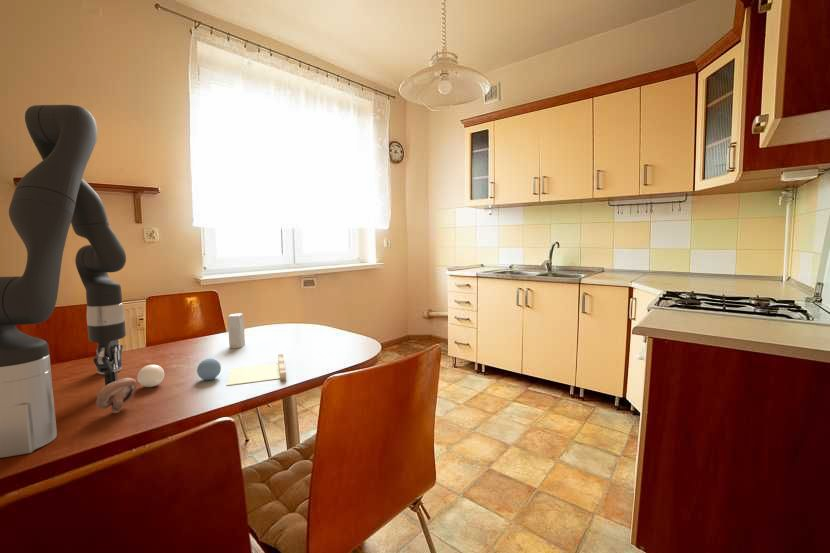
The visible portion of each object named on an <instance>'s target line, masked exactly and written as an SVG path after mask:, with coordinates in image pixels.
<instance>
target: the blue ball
mask: <svg viewBox="0 0 830 553" xmlns="http://www.w3.org/2000/svg"><path fill="white" fill-rule="evenodd" d="M221 371H222V366H221V363H220V361H218V360H216V359H215V358H206V359H204V360H202V361H201V362H200V363H199V364H198V366H197V368H196V372H197V375H198V376H199V378H200V379H202V380H204V381H210V380H214V379H215V378H217V377H218V376H219V374H220V373H221Z"/></svg>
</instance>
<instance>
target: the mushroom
mask: <svg viewBox="0 0 830 553" xmlns="http://www.w3.org/2000/svg"><path fill="white" fill-rule="evenodd" d="M137 384H138V383H137V381H136V379H134V378H132V377H124V378H120V379H117V381H114V382H112V383H110V384H108V385H106V386H103V388H101V389H100V391H98V394H97V398H96V400H95V405H96V406H97V407H98V408H100V409H107V408H109V407H111V408H110V410H111V412H112V413H114V414H117V413H119V412H120V411H121V409H122V408H123V406H124V404H126V403H127V402H129V401H131V399H132V398H133V397H134V396H135V393H136V389H137V386H138V385H137Z"/></svg>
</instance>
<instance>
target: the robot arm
mask: <svg viewBox="0 0 830 553" xmlns="http://www.w3.org/2000/svg"><path fill="white" fill-rule="evenodd" d="M24 122H25V126H26V129H27V131H28V134H29V135H30V138H31V140H32V142H33V144H34V145H35V148H36V150H37V152H38V154H39V155H40V157H41V161H40V162H39V163H38V164H36V165H35V166H34V167H32V169H31V170H29V171H28V172H27V173H26V174H25V175H24V176H22V178H20V180H19V181H18V183H17V185H16V187H15V189H14V193H13V195H12V197H11V202H10V204H9V208H8V216H9V220H10V222H11V225H12V226H13V228H14V230H15V231H16V233H17V234H18V237H20V238H19V239H21V241H22V242H23V244H24V247H25V248H26V254H27V255H26V256H27V258H26V265H25V269H24V272H23V274H22V275H21V276H0V459H1V458H7V457H13V456H20V455H25V454H31V453H33V452H34V451H35V450H38V449H40V448H42V447H44V446H46V445H48V444H50V443H51V442H53V441H54V440H55V439H56V438H57V436H58V431H57V422H56V421H57V419H56V410H55V400H54V392H53V380H52V379H53V378H52V370H51V368H52V367H51V357H50V347H49V343H48V341H46V340H44V339H42V338H41V337H35V336H32V335H30V334H26V333H24V332H23V331H21V330H20V329H18V327H17V326H20V325H22V326H23V325H36V324H42V323H43V322H46V321H47V320H48V319H50V317H51V316H52V313H54V309H55V307H56V304H57V300H58V293H59V286H60V278H61V277H60V276H61V272H62V270H61V269H62V261H63V254H64V251H65V250H64V249H65V246H66V242H67V237H68V233H69V229H70V228H72V229H73V230H72V231H74V233H75V235H76V236H78V237H81V238H84V239H86V240H87V241H88V242H89V244H88V245H87V244H86V245H84V246H82V247H80V248H79V249H78V250H77V252H76V254H75V259H74V260H75V267H76V270H77V273H78V276H79V277H80V278H79V279H80V281H81V282H82V286H84V288H85V296H86V297H85V298H86V323H87V324H86V325H87V335H88V341H89V342H92V343H96V344H97V348H96V349H95V350H96V352H97V355H98V357H97V356H96V357H93V363H94V365H95V366H96V369H97V368H98V370H99V372H100V373H104V374H103V375H104V385H105V386H106V385H108V384H110V383H112V382H114V381H117V380H118V372H117V369H118V366H119V365H120V360H121V361H122V353H123V347H124V346H123V344H121V343H119V340H122V339H124V338H125V337H126V336H127V334H126V333H127V332H126V331H127V330H126V321H125V320H126V318H125V310H124V305H123V296H122V286H121V284H120V283H119V282H118V281H115V280H112V279H111V278H110V275H109V274H108V273H117V272H119V271H121V270H122V269H124V267H125V266H126V264H127V263H126V261H127V255H126V251H125V249H124V246H123V245H122V243H121V241H120V240H119V239H118V237H117V235H116V234H115V232H114V231H113V229H112V227H111V226H110V222H109V219H108V216H107V212H106V208H105V206H104V204H103V201H102V199H101V197H100V195H99V194H98V193H97V192H96V191H95V190H94V189H93V187H92V186H91V185H90V184H89V183H88V182H87V181H86V180H85V179H84V178H83V176H84V173H85V171H86V168H87V165H88V162H89V160H90V159H91V156H92V154H93V151H94V149H95V146H96V144H97V140H98V126H97V121H96V119H95V118H94V115H93V114H92V113H91V112H90V111H89V110H88V109H86V108H84V107H82V106H79V105H75V104H36V105H35V104H34V105H31V106H29V107H28V108H26V111H25V113H24ZM70 226H72V227H70ZM105 386H104V387H105Z"/></svg>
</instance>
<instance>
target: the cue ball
mask: <svg viewBox="0 0 830 553" xmlns="http://www.w3.org/2000/svg"><path fill="white" fill-rule="evenodd" d="M164 378H165V371H164V368H163V367H161V366H160V365H157V364H148V365H146V366H143V367H142V368H141V369H140V370H139V372H138V374H137V381H138V383H139V384H140V385H141V386H142V387H145V388H153V387H156V386H158V385H159V384H161V383H162V382H163V380H164Z"/></svg>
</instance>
